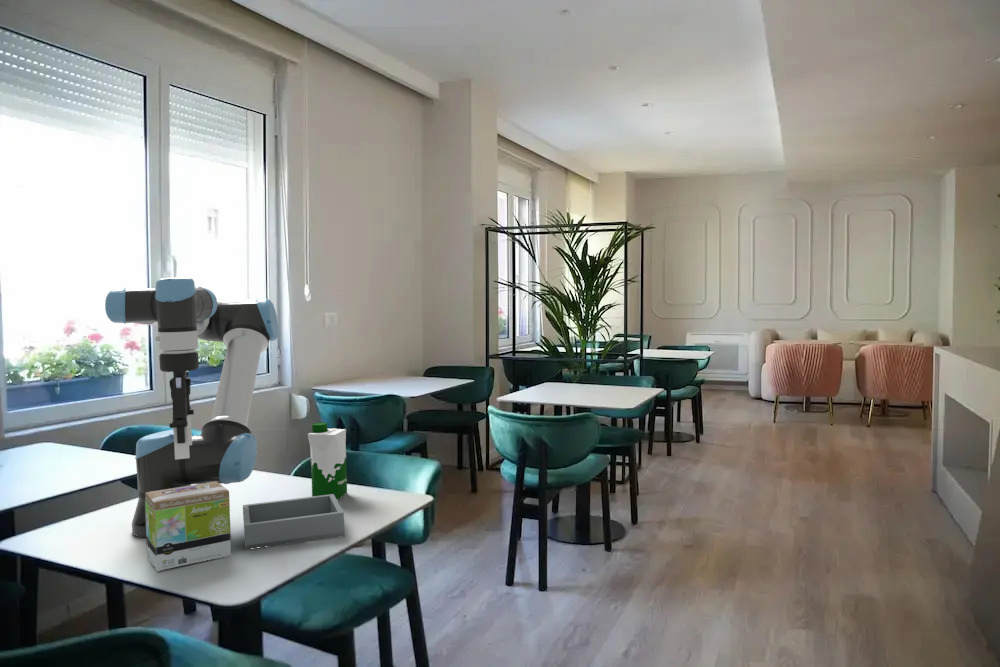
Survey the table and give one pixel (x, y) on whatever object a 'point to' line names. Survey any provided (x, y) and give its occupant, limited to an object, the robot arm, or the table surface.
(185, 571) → the table surface
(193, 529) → the tea box
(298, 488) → the table surface
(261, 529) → the walled tray
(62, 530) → the table surface
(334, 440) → the milk carton
